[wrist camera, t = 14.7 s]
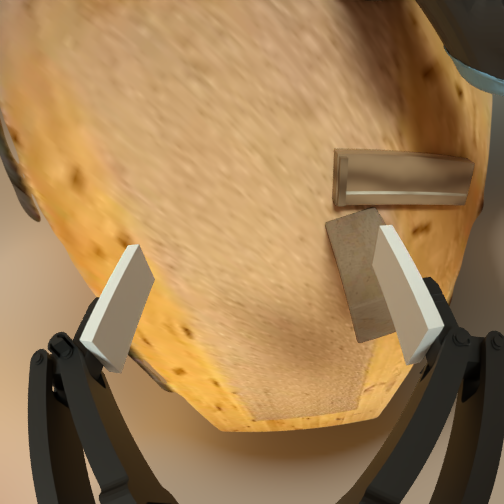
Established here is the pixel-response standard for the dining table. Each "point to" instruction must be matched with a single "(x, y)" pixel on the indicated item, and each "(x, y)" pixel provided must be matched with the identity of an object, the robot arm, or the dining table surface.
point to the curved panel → (399, 178)
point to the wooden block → (361, 272)
